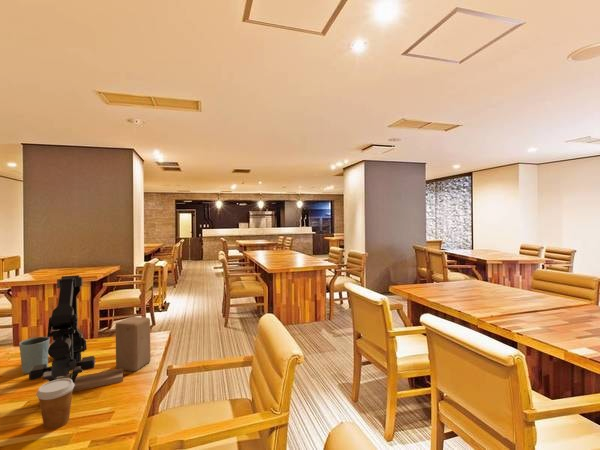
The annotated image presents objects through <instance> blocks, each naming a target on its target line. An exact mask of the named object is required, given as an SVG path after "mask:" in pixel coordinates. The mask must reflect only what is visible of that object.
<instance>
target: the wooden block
mask: <svg viewBox="0 0 600 450" xmlns="http://www.w3.org/2000/svg"><path fill="white" fill-rule="evenodd" d="M151 359H152V357H151V319H150V317H142V316H130V317H128V318H124V319H123V320H120V321H117V322H116V323H115V369H121V368H123V371H127V372H128V371H130V372H137V371H139V370H140V369H142V368H143V367H145V366H146V365H148V364H149V363H150V362H151Z"/></svg>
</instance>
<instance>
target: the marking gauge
mask: <svg viewBox="0 0 600 450" xmlns="http://www.w3.org/2000/svg"><path fill="white" fill-rule="evenodd" d="M64 378H65V379H71V380H72V372H69V374H68V375H67V376H60V377H57V379H64ZM57 379H56V380H57Z"/></svg>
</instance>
